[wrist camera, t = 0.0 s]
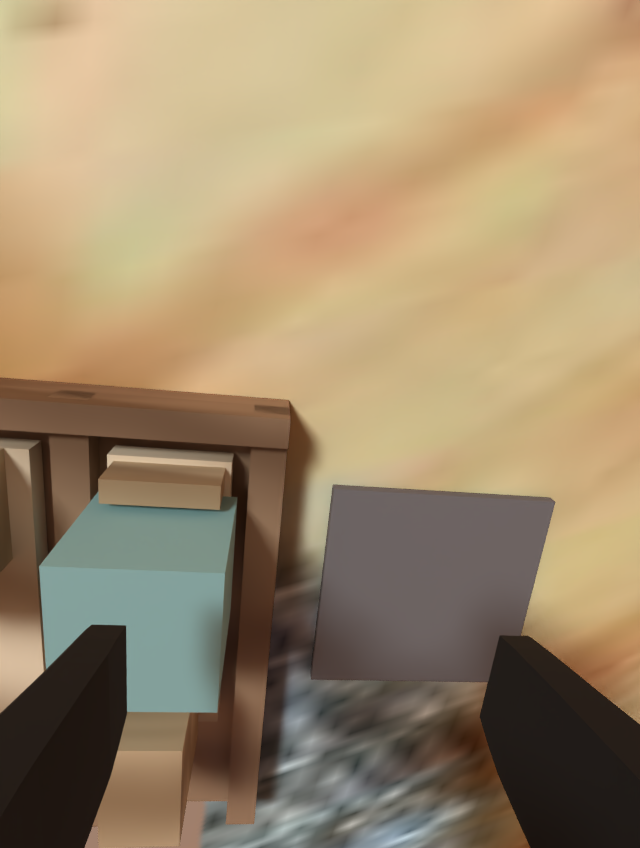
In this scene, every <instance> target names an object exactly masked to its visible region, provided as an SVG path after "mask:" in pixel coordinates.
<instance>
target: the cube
mask: <svg viewBox="0 0 640 848" xmlns="http://www.w3.org/2000/svg"><path fill="white" fill-rule="evenodd" d="M236 512H237V497H226V496H223V498H222V502H221V507H220V510H212V509H193V508H174V507H155V506H136V505H117V504H99V494H98V492H97V494H96V495H95V496H94V498H93V499H92V500H91V501H90V503H89V504H88V505H87V506H86V508H85V509H84V510H83V511H82V513H81V514H80V515H79V517H78V518H77V519H76V520H75V522H74V523H73V524H72V525H71V527H70V528H69V529H68V530H67V532H66V533H65V534H64V535H63V537H62V538H61V539H60V541H59V542H58V543H57V544H56V546H55V547H54V548H53V549H52V551H51V552H50V553H49V554H48V556H47V557H46V558H45V559H44V561H43V562H42V563H41V565H40V566H39V572H40V587H41V602H42V617H43V632H44V647H45V662H46V669H47V668H48V667H49V666H50V665H51V664H52V663H53V662H54V661H55V660H56V659H57V658H58V657H59V656H60V655H61V654H62V653H63V652H64V651H65V650H66V649H67V648H68V647H69V646H70V645H71V644H72V643H73V642H74V641H75V640H76V639H77V638H78V637H79V636H80V635H81V634H82V633H83V632H84V631H85V630H86V629H87V628H88V627H89V626H91V625H126V653H127V712H205V713H217V711H218V703H219V696H220V688H221V680H222V672H223V665H224V657H225V649H226V641H227V634H228V626H229V618H230V610H231V595H232V578H233V562H234V545H235V528H236Z"/></svg>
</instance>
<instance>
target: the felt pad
mask: <svg viewBox="0 0 640 848" xmlns="http://www.w3.org/2000/svg"><path fill="white" fill-rule="evenodd" d="M554 505H555V501H553V500H552V499H551V498H547V497H530V496H513V495H497V494H480V493H463V492H446V491H429V490H413V489H396V488H379V487H362V486H345V485H333V488H332V496H331V504H330V513H329V521H328V530H327V538H326V546H325V555H324V563H323V572H322V580H321V589H320V597H319V605H318V614H317V622H316V631H315V639H314V647H313V656H312V664H311V679H315V680H380V681H444V682H488V681H489V677H490V672H491V668H492V664H493V660H494V656H495V652H496V648H497V644H498V640H499V636H500V635H507V636H521V632H522V628H523V624H524V620H525V617H526V613H527V609H528V605H529V601H530V597H531V593H532V590H533V586H534V582H535V578H536V574H537V570H538V566H539V563H540V559H541V555H542V551H543V547H544V543H545V539H546V535H547V532H548V528H549V524H550V520H551V516H552V512H553V508H554Z"/></svg>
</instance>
